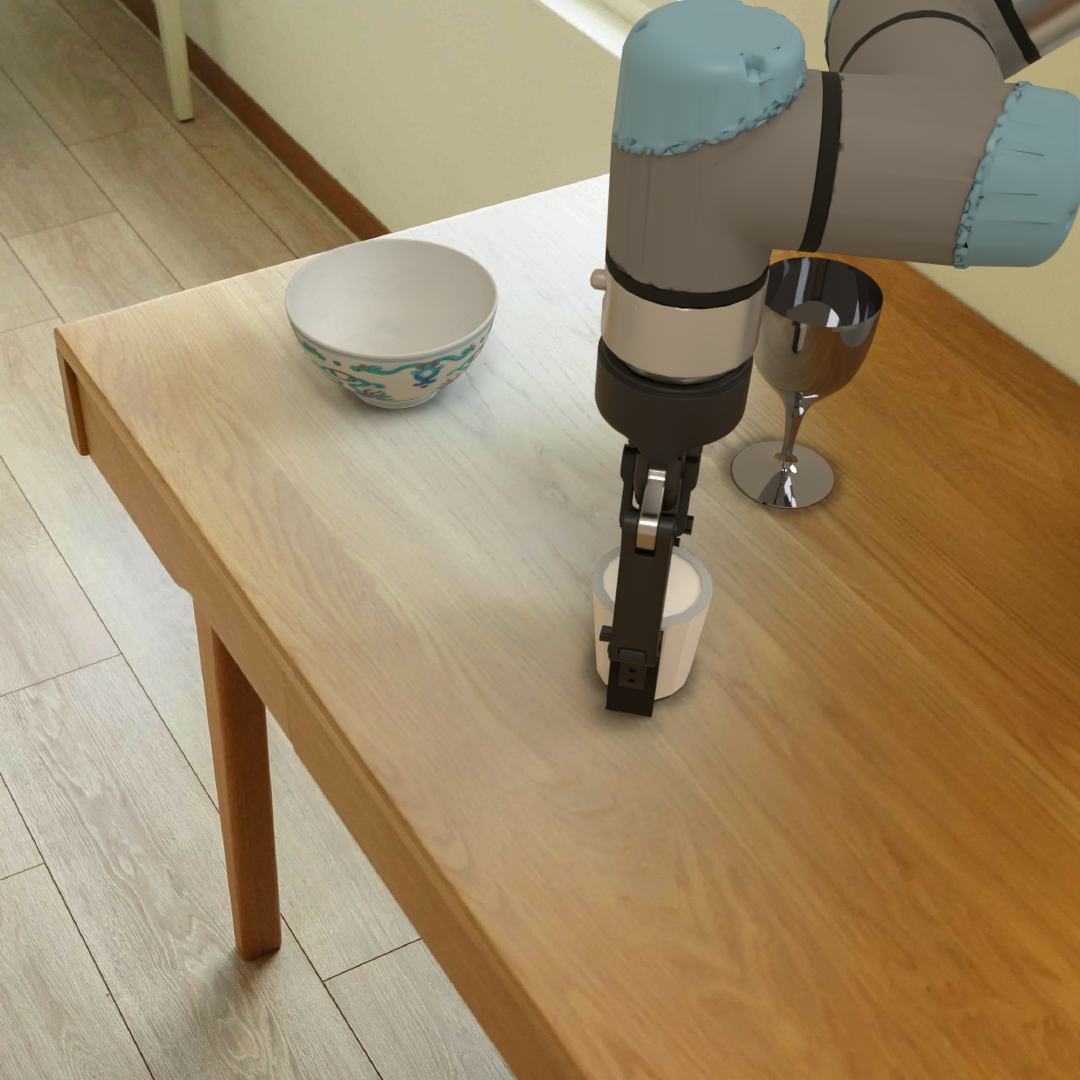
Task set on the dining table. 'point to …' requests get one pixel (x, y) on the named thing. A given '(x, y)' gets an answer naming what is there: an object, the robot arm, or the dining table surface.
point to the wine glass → (806, 368)
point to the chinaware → (392, 317)
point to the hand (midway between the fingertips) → (638, 659)
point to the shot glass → (680, 615)
